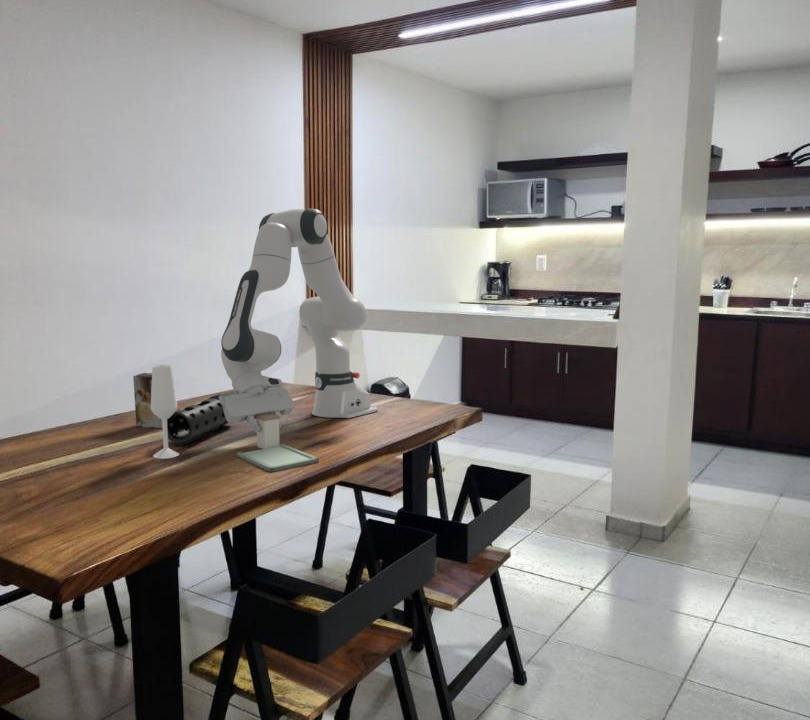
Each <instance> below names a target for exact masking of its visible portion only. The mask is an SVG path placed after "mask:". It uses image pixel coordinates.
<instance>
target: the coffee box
mask: <svg viewBox="0 0 810 720" xmlns="http://www.w3.org/2000/svg"><path fill="white" fill-rule="evenodd" d="M151 388H152V372H143V373H139V374H136V375H133V393H134V408H135V409H134V411H135V422H136V423H135V426H136V427H137V426H143V427H142V428H151V427H154V429H156V428H157V429H163V425H162V419H160V418H159V417H157V416H156V415H155V414H154V413H153V412H152V410H151Z"/></svg>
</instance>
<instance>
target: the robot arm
mask: <svg viewBox="0 0 810 720" xmlns="http://www.w3.org/2000/svg"><path fill="white" fill-rule="evenodd" d="M328 229H329V226H328V220H327V218H326V216H325V215H324V214H323V213H322V211H320V209H316V208H305V209H304V208H297V209H295V208H294V209H289V210H284V211H279V212H271V213H269V214H267V215H265V216H263V217H262V219H261V221H260V223H259V224H258V232H257V234H256V238H255V242H254V247H253V251H252V257H251V258H252V259H251V264H250V266H249V268H248V270H247V271H246V272H244V273H243V275H242V276H241V278H240V280H239V283H238V287H237V290H236V292H235V293H236V294H235V297H234V301H233V305H232V307H231V308H232V309H231V313H230V316H229V318H228V322H227V326H226V328H225V330H224V332H223V334H222V337H221V340H220V342H221V350H220V355H221V361H222V365H223V367H224V370H225V373H226V375H227V377H228V378H229V379H230V381H231V385H232V386H231V387H232V389H233V391H229V392H227V391H225V392H222V393H220V394H221V395H220V396H219V401H220V403H221V405H222V406H223V410H224V414H225V417H226V420H227V421H228V422H229V423H228V424H235V423H240V422H241V423H242V422H246V423H247V425H249V426H250V427H252V429H253V430H254V431H255V433H257V432H261V430H262V426H261V424H258V423H256V415H260V414H267V413H273V414H276V415H279V429H281V428H282V424H281V421H280V420H281V417H282V416H286V415H291V413H292V412H293V410H294V409H295V402H294V400H293V398H292V396H291V394H290V392H289V391H288V390H287V388H285V386H284V387H283V381H282V379H281V378H276V377H275V378H274V377H270V376H266V375H262V371H266V370H267V369H268V368H270V367H272V366H273V365H275V363H276V362H277V361H278V360H279V359H280V357H281V355H282V344H281V341H280V339H279V337H278V336H277V335H275V334H272V333H269V332H266V331H263V330H258V329H255V328H253V326H252V324H251V322H252V319H253V315H254V311H255V307H256V303H257V300H258V297H259V296H260V295H261V294H262V293H266V292H270V291H271V292H272V291H275V290H278V289H281V288H282V287H283V286H284V285H285V284H286V283H287V282H288V279H289V276H290V272H291V264H292V248H297V252H298V257H299V261H300V264H301V268H302V272H303V274H304V279H305V283H306V285H307V287H309V289H310V290H312V291H314V293H315V294H316V295H317V296H314V297H313V296H312V297H309V298H307V299H304V300H303V301H302V303H301V305H300V306H299V310H298V312H299V313H298V314H299V319H300V321H301V323H302V324H303V325H304V326H305V327H306V328H307V330H308V331H309V334H310V336H311V339H312V341H313V345H314V349H315V362H316V363H315V366H316V370H315V372H314V373H315V374H314V384H315V385H314V386H315V398H314V403H313V407H312V408H313V409H312V412H311V414H312V415H314V416H315V417H322V418H332V419H333V418H341V419H351V418H354V417H359V416H362V415H366V414H371V413H374V412H378V410H379V409H378V407H377V406H375V405H373V404H372V402H371V401H372V400H371V396H370V394H369V392H368V391H367V390H366V389H365V388H364V387H362V386H360V385H359V384H358V383H357V382H355V379H360V377H361V374H360V372H356V371H354V372H353V371H351V367H350V363H351V361H350V360H351V359H350V348H349V346H348V345H347V344H346V343H345V342H344V341H343V339H342V338H341V336H340V333H339V332H344V333H345V332H346V333H347V332H354V331H358V330H360V329H361V328H362V327H363V326H364V325H365V323H366V320H367V310H366V306H365V305H364V303H363V302H361V301H360V300H359V299H357V298H356V297H355V296H354V295H353V294H352V292H351V291H350V290H349V288H348V287H347V285H346V283H345V282H344V280H343V278H342V276H341V275H342V274H341V273H340V270H339V266H338V263H337V260H336V255H335V251H334V248H333V245H332V241H331V240H330V236H329V235H328V231H329V230H328Z"/></svg>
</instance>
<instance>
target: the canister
mask: <svg viewBox="0 0 810 720" xmlns="http://www.w3.org/2000/svg"><path fill="white" fill-rule="evenodd" d="M255 422H256V423H258V424H261V426H262V430H261V432H256V447H257V448H259V449H261V448H262V449H267V448H272V447H278V446H280V445H281V444H280V428H279V415H276V414H273V413H267V414H260V415H256V419H255ZM262 449H261V450H262Z"/></svg>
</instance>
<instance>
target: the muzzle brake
mask: <svg viewBox="0 0 810 720" xmlns="http://www.w3.org/2000/svg"><path fill="white" fill-rule="evenodd" d="M221 394H222V393H219V394H215V395H212V396H210V397H209V398H207V399H204V400H203V401H199V402H197V403H194V404H191V405H189V406H186V407H184V408H180V409H178V410H176V411H175V412H174V414H173V415H172V416H171V417H170V418H168V419H167V432H168V441H170V442H172V443H175V444H176V446H177V447H182V446H185V445H187V444H188V443H192V442H193V441H195V440H198V439H199V438H200V437H203V436H204V434H206V433H209V432H211V431H214V432H216V431H218V430H220V427H221V426H222V427H223V426H225V425H228V424H230V423H229V422H228V421H227V420H226V417H225V414H224V410H223V406H222V405H221V403H220V401H219V396H220V395H221ZM170 424H171V425H170ZM217 429H218V430H217ZM215 430H216V431H215Z"/></svg>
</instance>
